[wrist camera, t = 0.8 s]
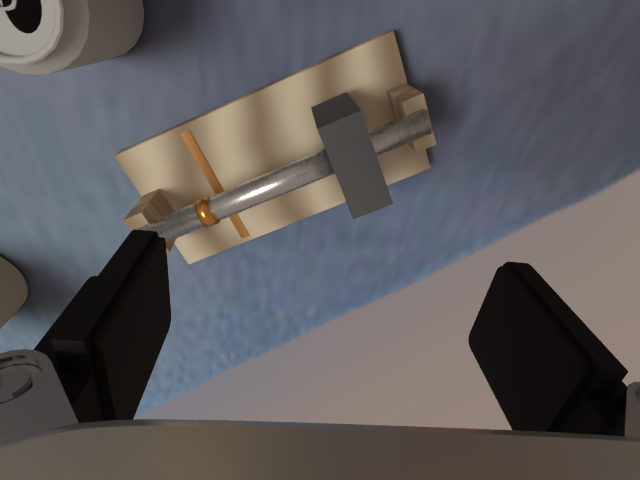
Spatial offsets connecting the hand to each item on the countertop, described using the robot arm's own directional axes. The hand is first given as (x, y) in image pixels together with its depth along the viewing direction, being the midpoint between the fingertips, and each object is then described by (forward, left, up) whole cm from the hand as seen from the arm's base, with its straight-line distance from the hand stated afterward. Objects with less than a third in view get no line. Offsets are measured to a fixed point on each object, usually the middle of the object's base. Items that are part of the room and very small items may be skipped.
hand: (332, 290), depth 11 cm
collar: (-2, +3, -23) cm, 24 cm away
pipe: (+4, +3, -21) cm, 22 cm away
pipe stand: (+4, +3, -26) cm, 27 cm away
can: (+11, -13, -27) cm, 32 cm away
